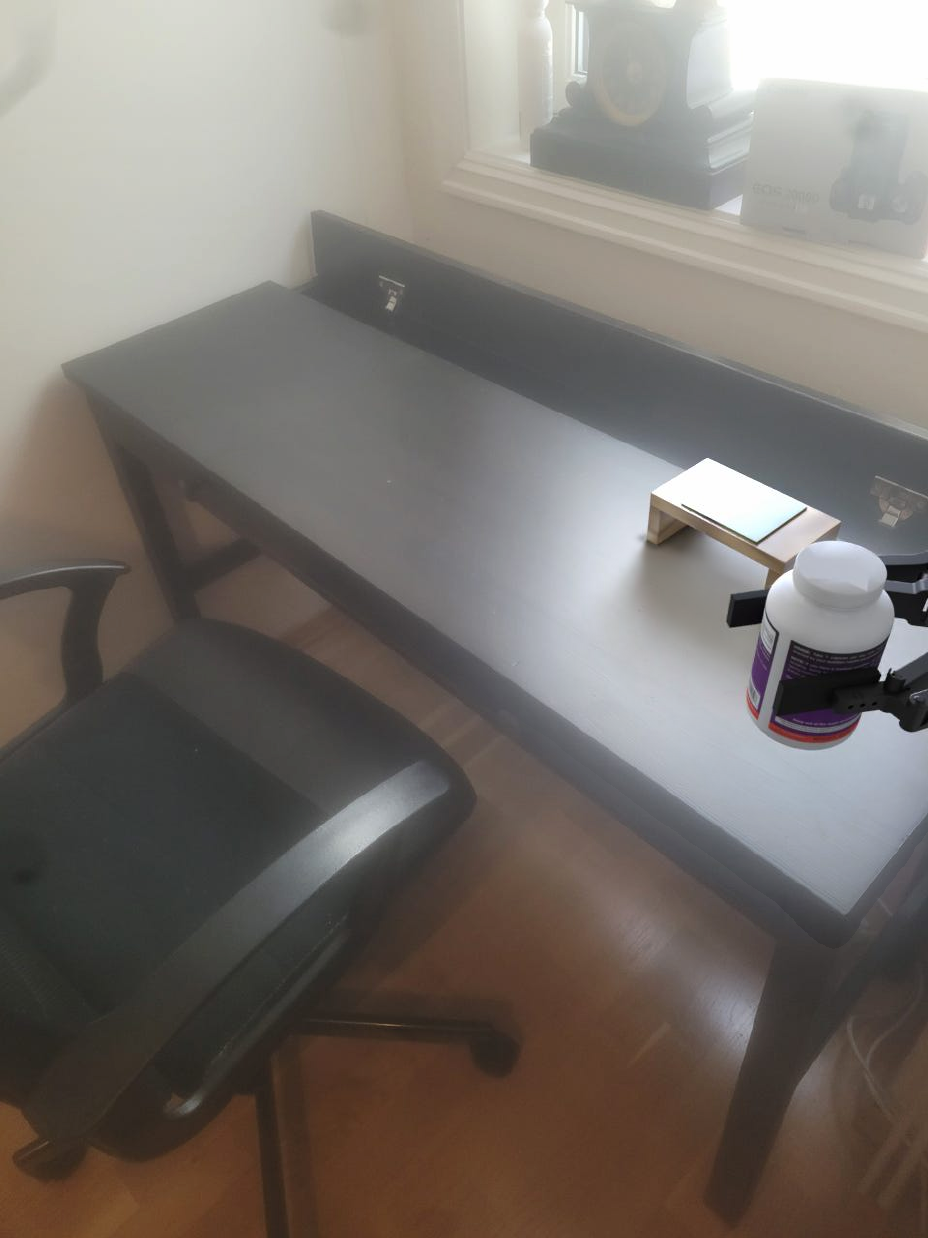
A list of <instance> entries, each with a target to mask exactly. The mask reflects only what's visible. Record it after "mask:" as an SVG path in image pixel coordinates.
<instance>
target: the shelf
mask: <svg viewBox="0 0 928 1238" xmlns="http://www.w3.org/2000/svg"><path fill="white" fill-rule="evenodd" d="M841 525H842V520H840V519H838V518H835V517H833V516H831V515H829V514H827V513H825V512H822V511H821V510H819V509H816V508H814V507H812V506H810V505H808V504H806V503H803V502H801V501H800V500H797V499H796V498H793V497H790V496H789V495H786V494H785V493H782V492H781V491H778V490H776V489H773V488H772V487H770V486H767V485H765V484H763V483H762V482H759V481H757V480H754V479H753V478H750V477H748V476H746V475H744V474H742V473H740V472H739V471H736V470H734V469H732V468H729V467H727V466H725V465H723V464H721V463H719V462H717V461H714V460H713V459H711V458H708V457H707V458H705V459H703V460H702V461H700V462H698V463H697V464H695V465H694V466H692V467H690V468H689V469H687V470H686V471H685V470H684V471H683V472H682V473H680V474H678V475H677V476H675V477H674V478H672V479H671V480H670V481H667V482H665V483H664V484H662V485H661V486H659V487H658V488H656V489H654V490H653V491H651V492H650V498H649V509H648V520H647V530H646V540H648V541H649V542H651V543H653V544H655V545H659V544H660V543H662V542H664V541H665V540H667V539H668V538H670V537H671V536H673V535H674V534H677V532H679V531H680V530H682V529H684V528H685V527H687V526H689V527H691V528H693V529H695V530H696V531H698V532H700V533H703V534H704V535H706V536H708V537H710V538H711V539H713V540H715V541H717V542H719V543H721V544H723V545H725V546H727V547H728V548H730V549H732V550H734V551H735V552H738V553H739V554H741V555H743V556H745V557H747V558H749V559H750V560H753V561H754V562H756V563H758V564H760V565H762V566H764V567H765V568H768V571H767V575H766V579H765V584H764V589H769V587H770V586H771V585H773V584H774V583H775V581H776V580H777V579H778V578H780V577H781V576H782V575H783V574H785V573H786V572H788V571H790V570H792V569H793V568H794V564H795V561H796V557H797V555H798V554H799V552H800V551H801V550H802V549H803V548H805V547H806V546H808V545H811V544H813V543H817V542H822V541H838V540H837V539H838V536H839V533H840V529H841ZM764 589H763V590H764Z"/></svg>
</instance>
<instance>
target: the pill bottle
mask: <svg viewBox="0 0 928 1238" xmlns="http://www.w3.org/2000/svg"><path fill="white" fill-rule="evenodd" d="M876 555H877V554H875V553H874V552H872V551H871V550H869V549H867V548H865V547H863V546H860V545H858V544H855V543H851V542H847V541H841V540H836V541H822V542H817V543H813V544H811V545H808V546H806V547H805V548H803V549H802V550H801V551H800V552H799V554H798V555H797V557H796V561H795V564H794V568H793V569H792V570H790V571H788V572H786V573H785V574H783V575H782V576H781V577H780V578H778V579H777V580H776V581H775V583H774V584H773V585H772V587H771V588H770V591H769V593H768V596H767V600H766V605H765V610H764V615H763V619H762V624H760V629H759V632H758V633H759V634H758V638H757V642H756V647H755V652H754V656H753V659H752V660H753V661H752V665H751V670H750V675H749V679H748V682H747V687H746V693H745V706H746V710H747V714H748V716H749V718H750V719H751V721H752V722H753V724H754V725H755V726H756V727H757V729H758V730H759V731H761V733H763V734H764V735H766V736H767V737H769V738H770V739H771V740H773V741H775V742H777V743H779V744H780V745H784V746H786V747H789V748H793V749H796V750H797V749H798V750H803V751H823V750H827V749H831V748H834V747H836V746H838V745H841V744H843V743H844V742H845V741H847V740H848V739H849V738H850V737H851V736H852V735H853V733H854V732H855V731H856V730H857V728H858V725H859V723H860V720H861V718H862V715H863V712H861V713H855V714H848V715H838V714H834V713H833V711H832V709H826V710H819V711H812V712H805V713H798V714H791V715H784V716H777V717H776V715H775V713H774V711H773V709H772V706H773V703H774V699H775V695H776V691H777V687H778V684H779V680H786V679H793V678H800V677H807V676H814V675H821V674H828V673H835V672H842V671H850V670H856V669H863V668H870V667H877V669H878V668H879V666H880V664H881V661H882V658H883V655H884V653H885V650H886V646H887V644H888V642H889V639H890V636H891V633H892V630H893V627H894V623H895V618H894V608H893V604H892V602H891V599H890V598H889V596H888V594H887V593H886V592H885V590H884V589H883V588H884V585H885V581H886V578H887V571H886V567H885V565H884V563H883V562H882V561H881V559H880V558H879V557H878V556H876ZM878 670H879V669H878Z"/></svg>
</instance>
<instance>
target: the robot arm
mask: <svg viewBox="0 0 928 1238" xmlns="http://www.w3.org/2000/svg"><path fill="white" fill-rule="evenodd" d="M875 555H876V556H878V557H879V558H880V559H881V561H882V562H883V563H884V565H885V567H886V571H887V578H886V581H885V585H884V588H883V589H884V590H885V592H886V593H887V594H888V596H889V598H890V599H891V602H892V604H893V608H894V619H900V620H901V619H902V620H905V621H906V622H907V624H908V625H910V626H914V627H920V628H921V627H922V628H928V606H926V604H927V601H928V550H925V551H921V552H917V553H910V554H908V553H906V554H905V553H904V554H875ZM771 587H772V585H771V586H770V587H769V589H757V590H751V591H750V590H749V591H742V592H741V591H740V592H735V593H730V597H729V601H728V602H729V603H728V608H727V614H726V619H725V622H726V624H727V626H728V628H729V629H733V628H741V627H747V626H756V625H761V624H762V619H763V615H764V610H765V605H766V600H767V596H768V593H769V591H770V588H771ZM925 606H926V610H924V609H925ZM892 670H893V667H890V668H889V669H888V671H887V673H886V676H885V679H884V680H881V678H882V673H881V671H880V670H879V669H877V667H870V668H863V669H856V670H850V671H842V672H835V673H828V674H821V675H814V676H807V677H800V678H793V679H786V680H779V684H778V687H777V691H776V695H775V699H774V703H773V706H772V709H773V711H774V713H775V715H776V717H777V716H784V715H791V714H798V713H805V712H812V711H819V710H826V709H832V711H833V713H834V714H838V715H848V714H855V713H861V712H862V713H867V712H874V711H880V712H882V713H885V714H891V715H892V716H894V717H895V718H896V719H897V720H898V726H899V728H900V729H901V730H902V731H904V732H907V733H910V734H911V733H917V732H920V731H923V730H927V729H928V651H925V653H923V654H921V655H919V656H918V657H915V659H912V660H911V661H909V662H908V663H907V664H904V665H903V666H901V667H900V668H898V669H894V670H893V671H892Z"/></svg>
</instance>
